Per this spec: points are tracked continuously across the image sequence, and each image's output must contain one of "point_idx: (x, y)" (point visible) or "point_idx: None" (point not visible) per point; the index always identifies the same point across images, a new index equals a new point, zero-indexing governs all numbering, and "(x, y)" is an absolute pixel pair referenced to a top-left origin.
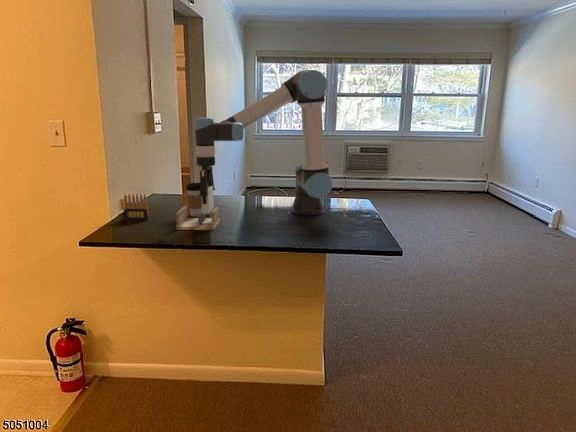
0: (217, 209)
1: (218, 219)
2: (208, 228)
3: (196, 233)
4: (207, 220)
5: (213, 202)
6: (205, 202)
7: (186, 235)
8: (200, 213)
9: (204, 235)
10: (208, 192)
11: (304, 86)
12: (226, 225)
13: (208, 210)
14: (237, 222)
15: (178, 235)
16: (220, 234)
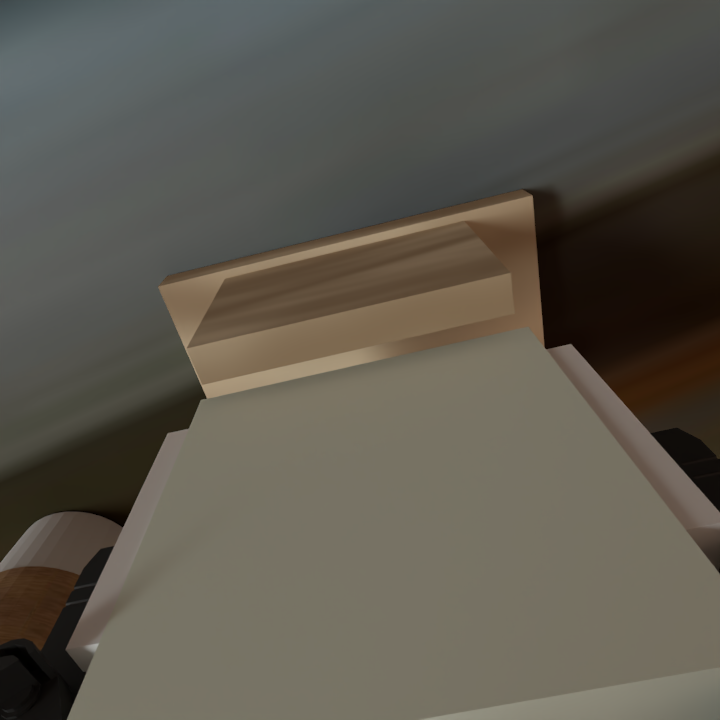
0: (252, 324)
1: (234, 278)
2: (533, 256)
3: (649, 312)
4: (294, 377)
5: (190, 451)
6: (702, 452)
7: (710, 366)
8: (91, 532)
9: (717, 209)
10: (702, 598)
11: None
12: (310, 128)
13: (572, 350)
14: (129, 32)
15: (708, 422)
16: (684, 39)
